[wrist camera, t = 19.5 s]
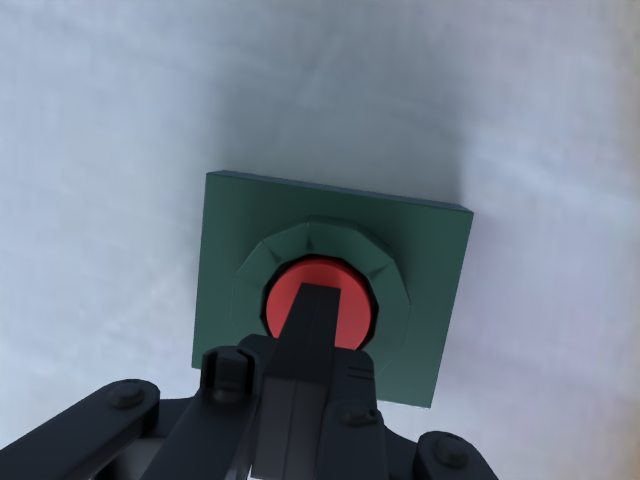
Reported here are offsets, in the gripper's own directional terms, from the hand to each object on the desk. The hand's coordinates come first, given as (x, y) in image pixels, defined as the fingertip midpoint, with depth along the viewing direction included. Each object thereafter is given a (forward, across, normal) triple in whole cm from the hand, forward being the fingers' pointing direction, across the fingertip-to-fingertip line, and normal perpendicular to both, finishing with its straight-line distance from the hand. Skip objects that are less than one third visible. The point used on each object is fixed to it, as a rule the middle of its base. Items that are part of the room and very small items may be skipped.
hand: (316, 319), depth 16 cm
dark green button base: (+5, 0, 0) cm, 5 cm away
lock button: (+2, 0, 0) cm, 2 cm away
